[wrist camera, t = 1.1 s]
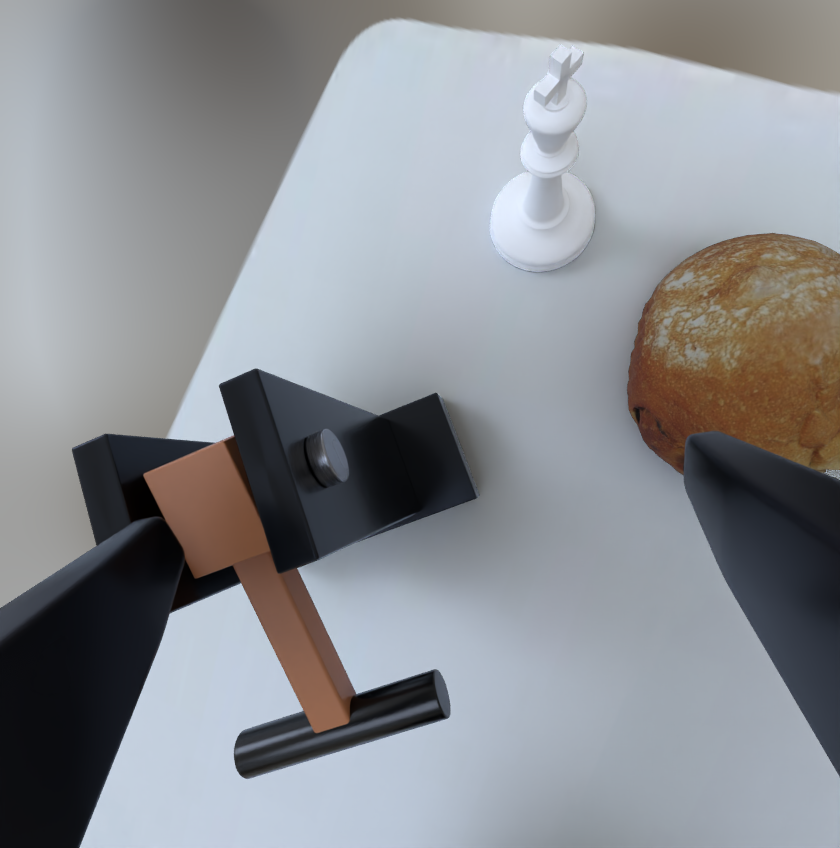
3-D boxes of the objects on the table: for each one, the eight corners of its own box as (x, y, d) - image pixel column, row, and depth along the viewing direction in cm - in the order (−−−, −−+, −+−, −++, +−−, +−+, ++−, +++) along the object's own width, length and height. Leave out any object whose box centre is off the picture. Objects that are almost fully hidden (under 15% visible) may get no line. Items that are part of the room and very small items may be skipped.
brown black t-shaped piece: (452, 681, 14) (449, 748, 12) (271, 737, 15) (236, 810, 13) (326, 396, 13) (297, 409, 11) (138, 474, 14) (74, 502, 12)
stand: (480, 495, 23) (435, 533, 10) (292, 564, 25) (29, 679, 11) (442, 398, 24) (354, 309, 11) (262, 470, 26) (-19, 473, 12)
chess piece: (469, 232, 25) (440, 76, 15) (536, 155, 24) (552, -56, 15) (546, 292, 24) (569, 168, 14) (617, 213, 23) (692, 29, 14)
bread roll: (835, 373, 24) (1012, 246, 17) (804, 560, 20) (1021, 492, 13) (639, 297, 26) (725, 154, 19) (572, 451, 22) (650, 341, 15)
